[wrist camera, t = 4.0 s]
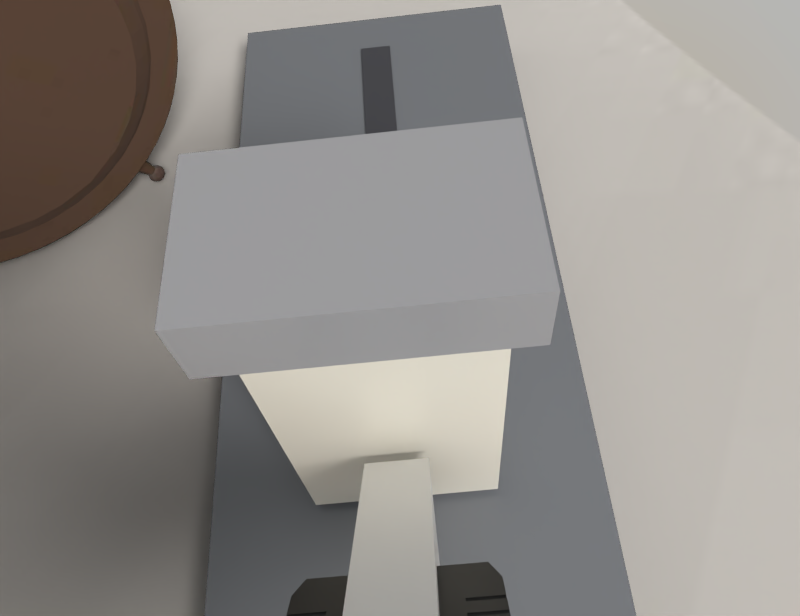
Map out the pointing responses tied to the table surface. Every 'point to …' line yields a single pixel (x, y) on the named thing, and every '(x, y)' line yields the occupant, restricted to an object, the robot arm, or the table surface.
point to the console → (529, 367)
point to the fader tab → (365, 293)
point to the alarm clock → (78, 109)
